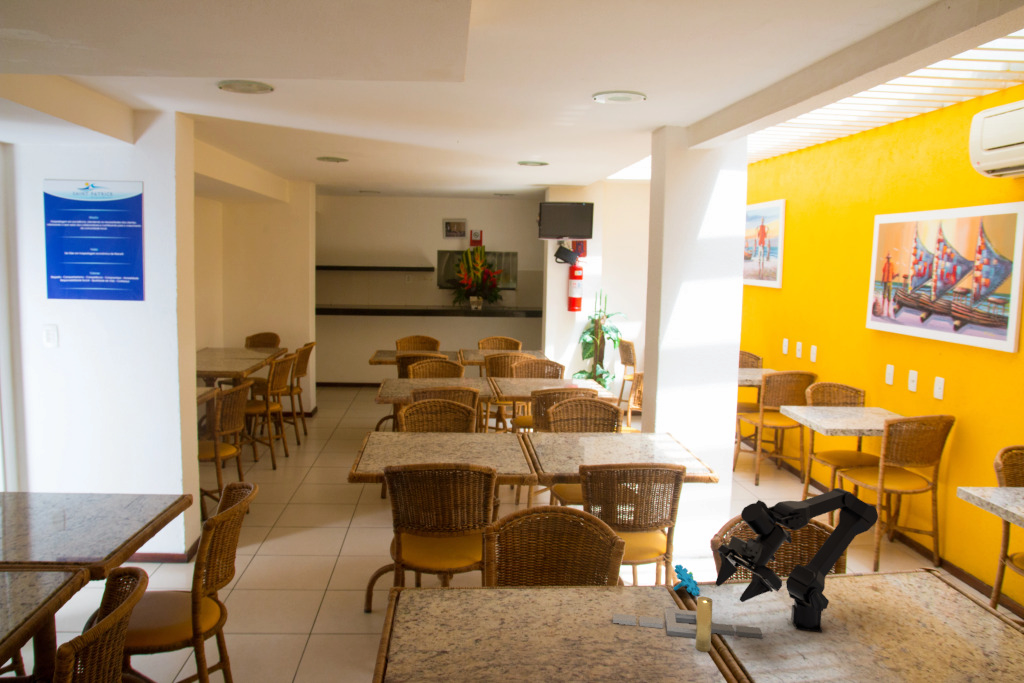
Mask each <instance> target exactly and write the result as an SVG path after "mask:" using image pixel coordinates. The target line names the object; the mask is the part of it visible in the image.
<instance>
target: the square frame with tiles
mask: <svg viewBox="0 0 1024 683" xmlns="http://www.w3.org/2000/svg"><path fill="white" fill-rule="evenodd" d="M612 614H613V615H612V624H614V623H619V624H618V625H624V624H625V625H626V626H637V615H633V614H623V613H612ZM638 620H639V622H638V623H639V627H644V628H645V627H646V628H656V629H663V628H664V621H663V618H662V617H654V616H645V615H644V616H643V615H639V619H638ZM696 621H697V610H687V609H678V608H677V609H675V608H665V626H666V636H671V637H678V638H679V637H680V638H689V639H690V638H691V639H696ZM735 631H736V635H737V637H744V638H745V637H746V638H755V639H763V632H762V629H761V627H756V626H746V625H745V626H744V625H735V629H734V626H733V624H725V623H715V622H712V623H711V634H714V633H717V634H716V635H725V636H726V635H727V636H735Z"/></svg>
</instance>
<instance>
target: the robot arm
mask: <svg viewBox="0 0 1024 683" xmlns="http://www.w3.org/2000/svg"><path fill="white" fill-rule="evenodd" d="M837 510H840V511H839V512H838V513H839V515H838V524H837V525H836V527H835V528H834V529H833V531H832V532H831V533H830V535H829V536H828V537H827V538H826V540H825V541H824V543H823V544H821V547H819V549H818V551H817V552H816V553H815V554H814V556H812V558H811V560H810V561H809V562H808V564H805V565H801V564H796V565H795V566H794V568H793V569H792V571H791V572H790V573H789V574H787V576H788V578H787V579H786V581H785V583H786V590H787V592H788V596H789V598H790V599H793V600H794V601H793V604H792V605H791V613H790V614H791V616H790V617H791V618H790V620H791V621H792V623H793V625H794V627H795V629H796V630H798V631H799V630H800V631H810V632H819V631H820V632H823V628H822V625H821V624H822V623H821V622H822V612H824V610H826V609H828V605H829V602H830V600H829V599H828V598H827V597H826V596H825V595H824V594H823V592H824V590H825V588H826V587H825V585H826V584H825V582H826V577H827V575H828V573H829V572H830V571H831V570H832V569H833V567H834V566H835V564H836V563H837V562H838V560H839V559H840V558H841V556H842V555H843V554H844V552H845V551H846V550H847V548H848V547H849V546H850V544H851V543H852V541H853V540H854V539H855V537H856V536H859V535H860V534H864V533H865V532H867V531H869V530H870V529H871V528H872V527H873V526H874V525H875V524H876V523H877V521H878V518H879V514H878V509H877V507H875V506H874V505H872V504H870V503H866V502H864V501H863V500H861V499H860V498H858V497H857V496H856V495H854V494H853V493H852V492H850V491H848V490H845V489H843V488H840V487H835V488H833V489H832V490H830V491H827V492H825V493H821V494H817V495H815V496H812V497H810V498H806V499H804V500H800V501H798V500H785V501H779V502H777V503H776V504H774V505H773V506H769V507H768V506H767V504H766V503H765V502H764V501H762V500H759V499H758V500H757V501H756V502H753V503H749V504H748V505H747V506H744V508H743V509H742V510H741V514H740V515H741V516H740V517H741V519H742V520H743V522H744V523H745V524H746V525H747V526H748V527H749V528H750V529H751V531H752V532H753V533H754V534H756V535H757V536H756V537H755V538H752V537H750V538H748V540H747V541H746V540H744V539H742V538H740V537H738V536H734V535H732V536H731V537H730V541H729V543H728V544H726V543H723V544H721V545H720V546H719V547H718V548H717V549H716V551H717V552H718V557H719V558H720V561H721V562H720V563H721V564H720V567H719V572H718V575H717V576H716V577H717V578H716V581H715V585H716V586H717V587H720V586H721V585H722V584H724V583H725V582H726V581H727V580H729V578H731V577H732V576H733V575H734V574H736V573H737V571H738V569H737V568H739V567H743V568H745V569H747V571H750V572H751V573H752V576H751V581H750V582H749V584H748V585H747V587H746V588H745V590H743V592H742V593H741V595H740V597H739V601H740V602H741V603H745V602H746V601H749V600H750V599H753V598H755V597H758V596H759V595H763V594H765V593H768V592H770V593H772V592H773V591H775V592H779V590H780V589H781V588H782V587H783V580H782V579H781V578H780V576H779V575H778V574H777V573H776V572H775V571H774V570H773V569H771V568H769V567H768V566H767V564H768V563H769V562H770V560H771V561H772V562H775V560H776V558H777V557H776V556H775V554H776V553H777V551H778V550H779V549H780V547H781V546H782V545H783V543H784V542H787V543H788V544H792V542H793V540H792V539H793V538H792V533H791V531H798V530H801V529H802V528H804V527H805V526H807V525H808V524H809V523H810V521H811V519H813V518H815V517H819V516H822V515H824V514H825V515H826V514H827V513H829V512H833V511H837ZM782 526H783V527H784V528H787V529H788V530H791V531H788V530H786V529H784V528H783V527H782Z"/></svg>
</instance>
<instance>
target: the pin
mask: <svg viewBox="0 0 1024 683" xmlns="http://www.w3.org/2000/svg"><path fill="white" fill-rule="evenodd" d="M696 601H697V602H696V603H697V604H696V611H697V621H696V624H695V625H696V638H695V646H694V647H695V649H696V650H697V651H699V652H703V653H706V652H707V653H708V652H710V651H711V644H712V643H711V641H712V638H711V637H712V633H711V623H713V622H712V620H713V618H712V617H713V599H712V598H710V597H709V596H698V597H697V599H696Z"/></svg>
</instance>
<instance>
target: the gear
mask: <svg viewBox="0 0 1024 683" xmlns="http://www.w3.org/2000/svg"><path fill="white" fill-rule="evenodd" d="M674 568H675V569H674V572H675V573H676V577H677V578H676V579H678V580H680V582H679V583H678V584H677V585H675V586H674V587H673V590H674V591H675V592H676V591H677V590H679V589H680V588H682V587H683V588H684V587H686V591H687V592H688V593H691V594H692V595H693V596H694V597H695V596H699V595H700V594H701V593H700V591H701V588H700V587H699V586H698V584H699V583H698V581H697V580H694V576H693V575H694V574H693V572H692V571H690V572H689V570H688V569H687V567H683V565H682V564H676V565H674Z"/></svg>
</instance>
